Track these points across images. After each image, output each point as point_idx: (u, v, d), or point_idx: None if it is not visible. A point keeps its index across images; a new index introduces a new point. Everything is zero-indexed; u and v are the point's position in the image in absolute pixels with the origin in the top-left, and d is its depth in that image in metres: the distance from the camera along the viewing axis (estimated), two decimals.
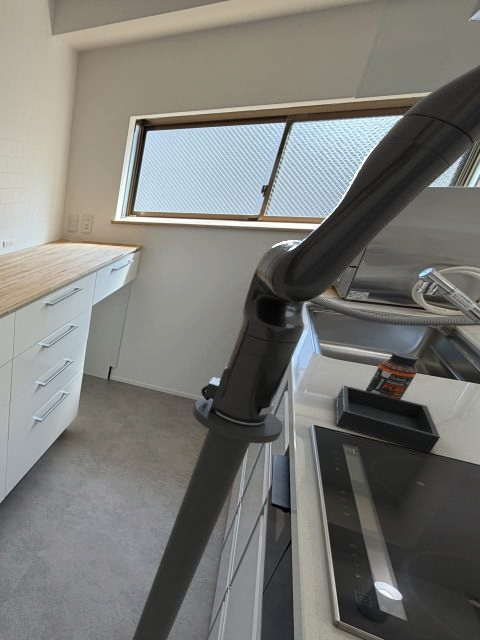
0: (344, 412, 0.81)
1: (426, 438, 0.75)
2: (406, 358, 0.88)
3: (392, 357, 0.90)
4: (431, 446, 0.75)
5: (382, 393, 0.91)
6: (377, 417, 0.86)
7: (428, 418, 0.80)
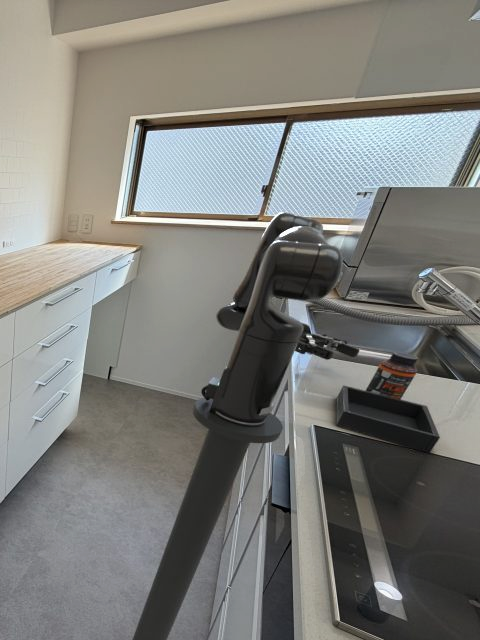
0: (344, 412, 0.81)
1: (426, 438, 0.75)
2: (406, 358, 0.88)
3: (392, 357, 0.90)
4: (431, 446, 0.75)
5: (382, 393, 0.91)
6: (377, 417, 0.86)
7: (428, 418, 0.80)
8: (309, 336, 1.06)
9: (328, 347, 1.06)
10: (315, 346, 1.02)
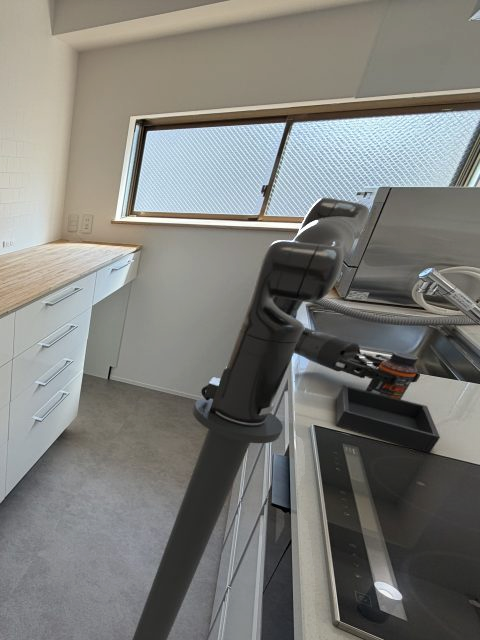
0: (344, 412, 0.81)
1: (426, 438, 0.75)
2: (406, 358, 0.88)
3: (392, 357, 0.90)
4: (431, 446, 0.75)
5: (382, 393, 0.91)
6: (377, 417, 0.86)
7: (428, 418, 0.80)
8: (362, 357, 0.95)
9: None
10: (376, 369, 0.91)
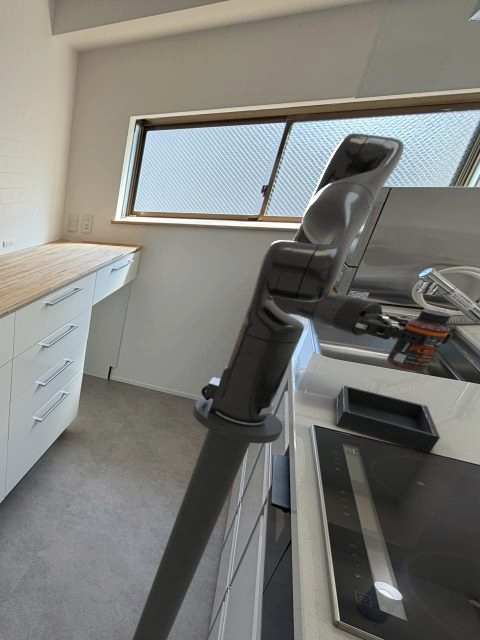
0: (344, 412, 0.81)
1: (426, 438, 0.75)
2: (438, 315, 0.77)
3: (421, 315, 0.80)
4: (431, 446, 0.75)
5: (409, 356, 0.81)
6: (377, 417, 0.86)
7: (428, 418, 0.80)
8: (385, 317, 0.85)
9: None
10: (403, 329, 0.81)
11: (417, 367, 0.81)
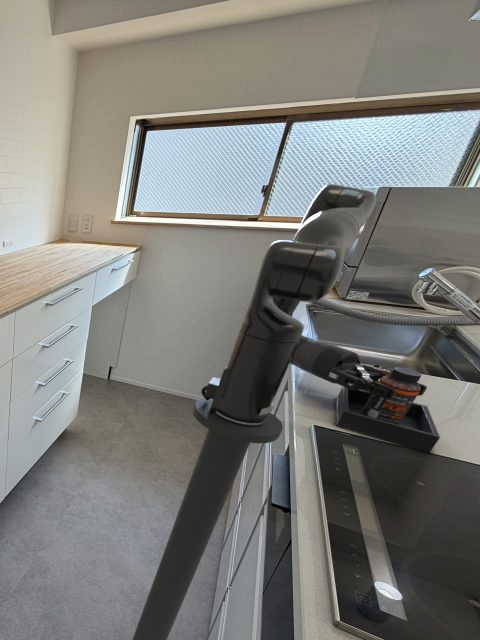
0: (344, 412, 0.81)
1: (426, 438, 0.75)
2: (408, 375, 0.78)
3: (393, 373, 0.80)
4: (431, 446, 0.75)
5: (381, 413, 0.82)
6: None
7: (428, 418, 0.80)
8: (360, 368, 0.85)
9: None
10: (371, 382, 0.81)
11: None
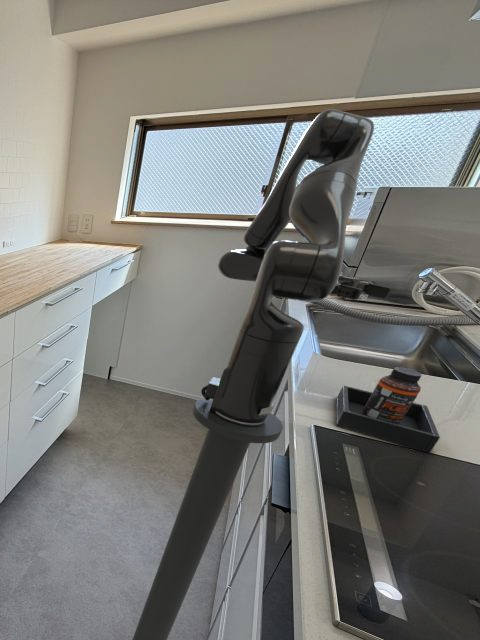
0: (344, 412, 0.81)
1: (426, 438, 0.75)
2: (408, 375, 0.78)
3: (393, 373, 0.80)
4: (431, 446, 0.75)
5: (381, 413, 0.82)
6: None
7: (428, 418, 0.80)
8: None
9: None
10: (339, 285, 0.85)
11: None
